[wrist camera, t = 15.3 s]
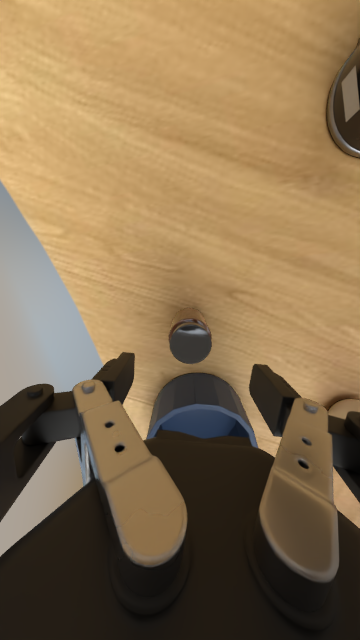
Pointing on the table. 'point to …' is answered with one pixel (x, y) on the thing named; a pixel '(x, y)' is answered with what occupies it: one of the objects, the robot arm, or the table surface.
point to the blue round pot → (200, 409)
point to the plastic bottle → (344, 408)
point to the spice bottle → (190, 336)
